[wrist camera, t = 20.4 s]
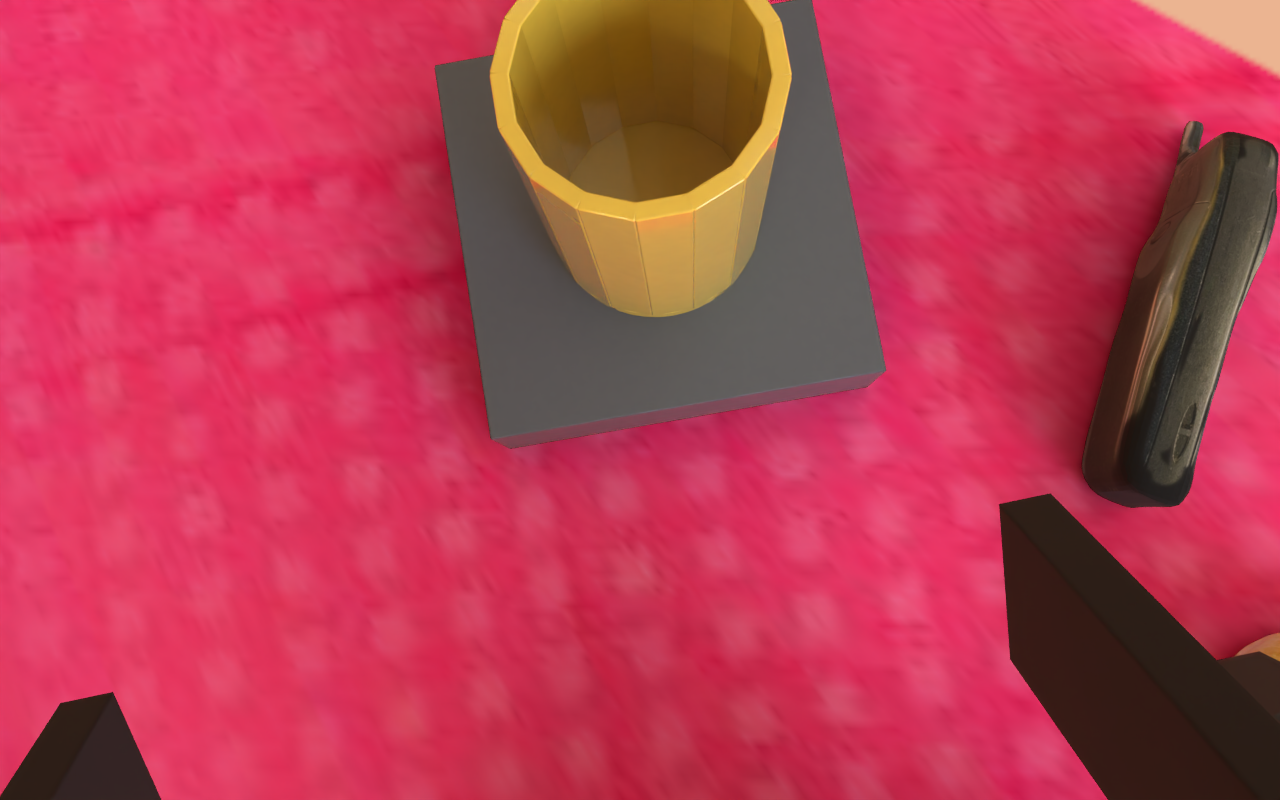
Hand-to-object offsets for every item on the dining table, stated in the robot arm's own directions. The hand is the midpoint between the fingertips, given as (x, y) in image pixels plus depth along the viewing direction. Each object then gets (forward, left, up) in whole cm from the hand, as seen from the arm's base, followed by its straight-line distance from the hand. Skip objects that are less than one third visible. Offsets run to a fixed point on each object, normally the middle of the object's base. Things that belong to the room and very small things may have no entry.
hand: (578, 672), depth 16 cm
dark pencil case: (+21, +7, -26) cm, 34 cm away
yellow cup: (+3, +13, -21) cm, 25 cm away
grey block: (+3, +13, -25) cm, 29 cm away
